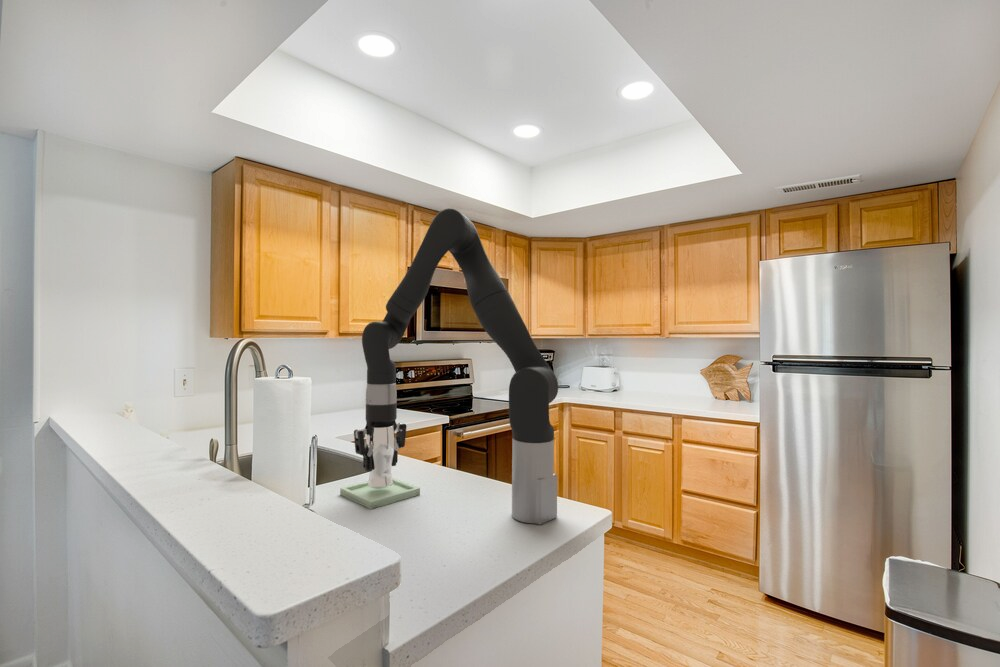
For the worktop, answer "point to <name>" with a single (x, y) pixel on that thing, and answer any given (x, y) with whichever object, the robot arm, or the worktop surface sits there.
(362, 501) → the tray
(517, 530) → the worktop surface
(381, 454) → the beer glass
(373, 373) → the robot arm
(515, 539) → the worktop surface
